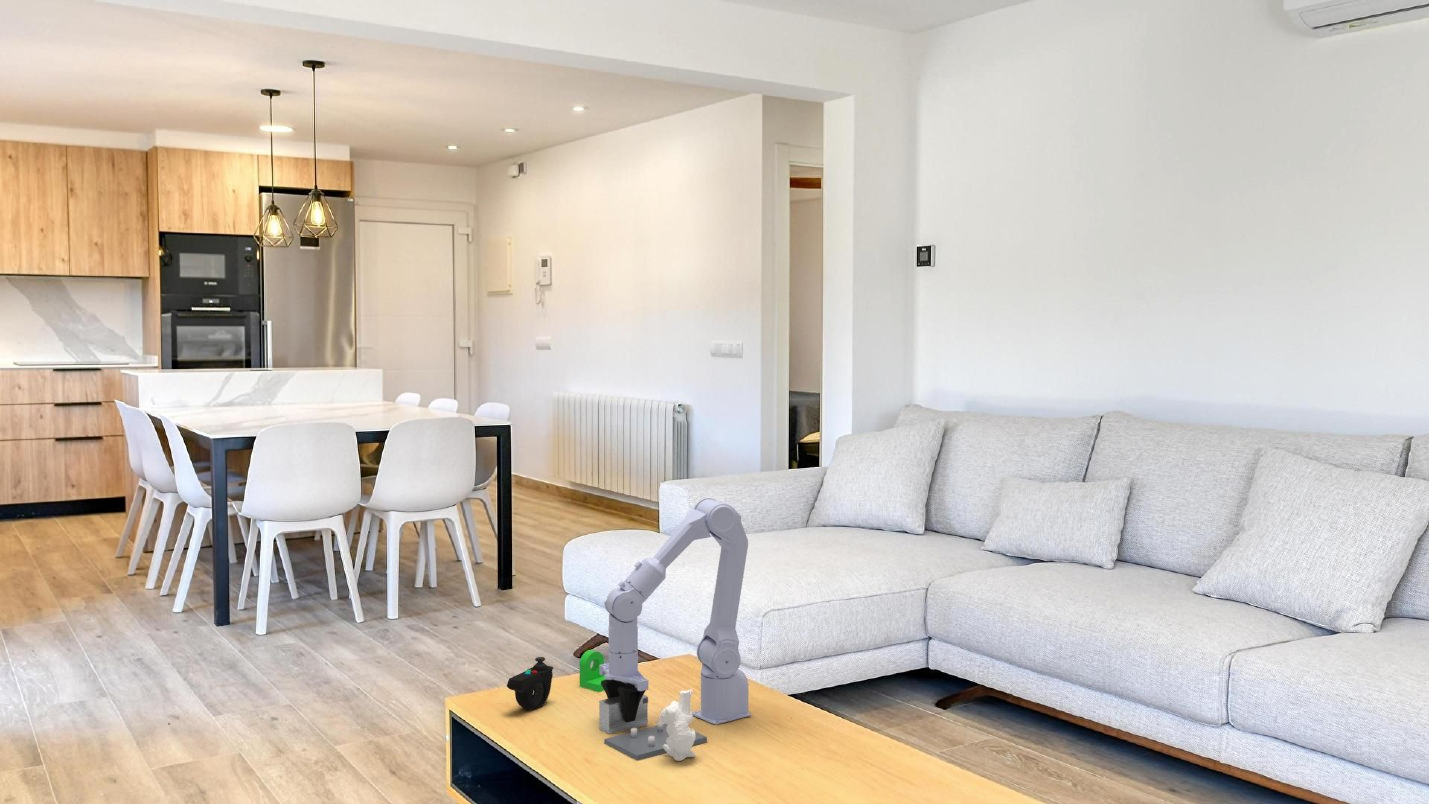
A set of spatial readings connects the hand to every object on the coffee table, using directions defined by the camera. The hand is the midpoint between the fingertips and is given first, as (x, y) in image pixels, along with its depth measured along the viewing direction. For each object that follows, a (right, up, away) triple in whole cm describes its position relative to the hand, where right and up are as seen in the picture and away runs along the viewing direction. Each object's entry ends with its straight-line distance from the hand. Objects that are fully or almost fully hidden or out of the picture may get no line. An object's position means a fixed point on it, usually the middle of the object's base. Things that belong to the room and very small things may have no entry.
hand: (623, 718), depth 229 cm
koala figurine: (+12, -3, -16) cm, 20 cm away
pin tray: (+7, -2, -9) cm, 11 cm away
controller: (-20, -2, +11) cm, 23 cm away
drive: (0, -2, 0) cm, 2 cm away
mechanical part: (-6, -1, +29) cm, 30 cm away
